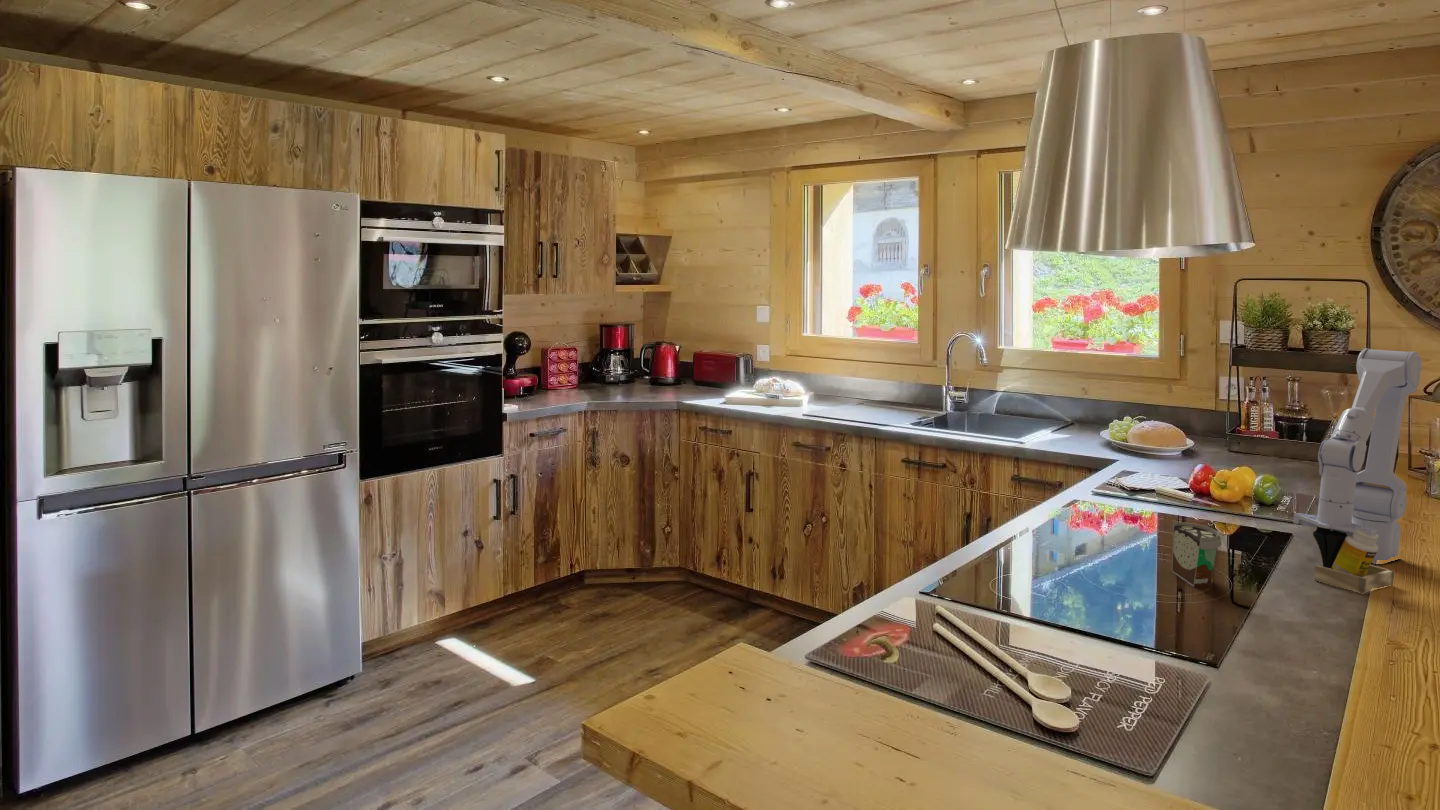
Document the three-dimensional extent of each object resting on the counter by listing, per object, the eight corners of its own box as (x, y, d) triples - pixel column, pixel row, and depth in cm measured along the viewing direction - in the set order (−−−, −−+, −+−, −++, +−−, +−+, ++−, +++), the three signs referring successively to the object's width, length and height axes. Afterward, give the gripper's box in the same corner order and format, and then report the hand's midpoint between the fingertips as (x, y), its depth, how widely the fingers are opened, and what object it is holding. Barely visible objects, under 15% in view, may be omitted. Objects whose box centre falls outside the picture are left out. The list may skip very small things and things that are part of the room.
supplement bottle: (1353, 587, 181) (1375, 542, 177) (1324, 572, 185) (1345, 527, 181) (1366, 582, 184) (1388, 537, 180) (1337, 567, 188) (1358, 522, 184)
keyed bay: (1344, 572, 190) (1346, 558, 189) (1392, 585, 182) (1394, 570, 182) (1314, 580, 185) (1315, 565, 184) (1362, 594, 177) (1364, 579, 177)
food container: (1230, 590, 179) (1235, 539, 177) (1197, 590, 179) (1202, 538, 177) (1199, 569, 191) (1203, 521, 189) (1168, 569, 191) (1172, 521, 190)
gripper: (1287, 494, 190) (1280, 559, 192) (1365, 510, 177) (1357, 580, 179) (1307, 490, 193) (1300, 554, 195) (1385, 506, 180) (1377, 575, 182)
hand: (1329, 567), depth 187 cm, fingers closed
